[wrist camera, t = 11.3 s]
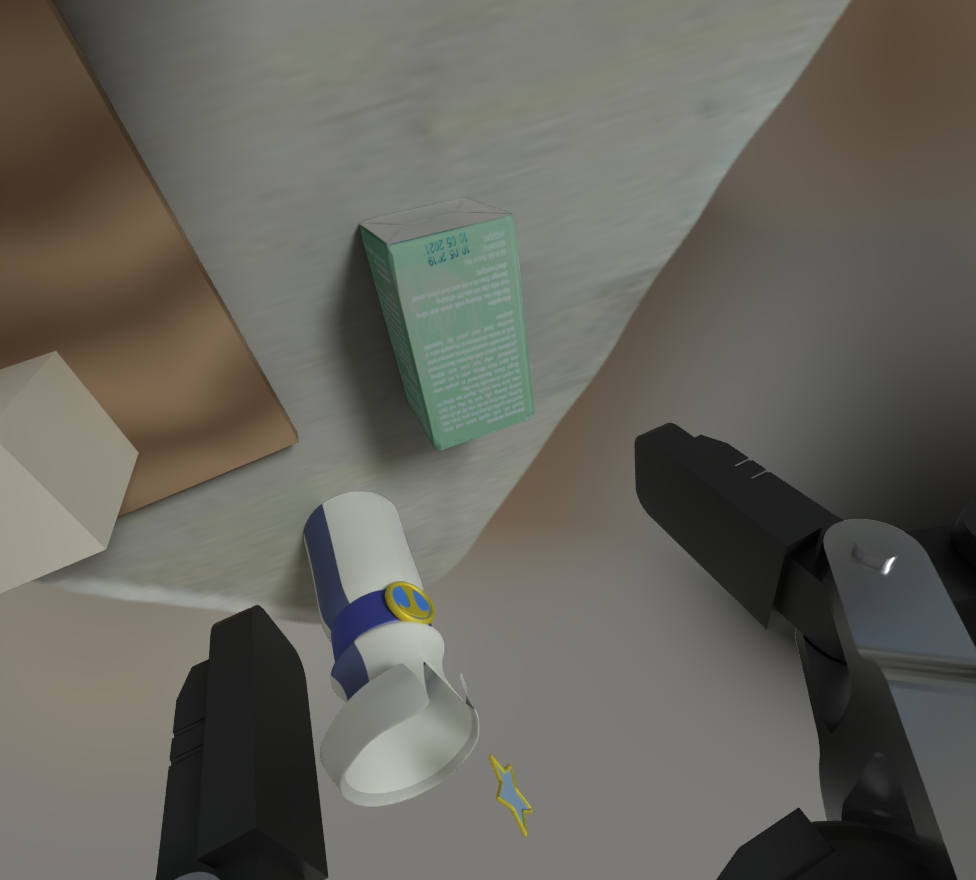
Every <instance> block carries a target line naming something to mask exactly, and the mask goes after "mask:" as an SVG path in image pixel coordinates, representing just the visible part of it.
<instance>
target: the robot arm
mask: <svg viewBox="0 0 976 880" xmlns="http://www.w3.org/2000/svg"><path fill="white" fill-rule="evenodd" d="M635 479H636V492H637V496H638V498H639V501H640V503H641V505H642V506H643V508H644V509H645V511H646V512H647V513H648V514H649V516H650V517H651V518H653V519H654V520H655V521H656V522H657V523H658V524H659V525H660V526H661V527H662V528H663V529H664V530H665V531H666V532H667V533H668V534H669V535H670V536H671V537H672V538H673V539H674V540H675V541H676V542H677V543H678V544H679V545H680V546H681V547H682V548H683V549H684V550H686V552H688V553H689V554H690V555H691V556H692V557H693V558H694V559H695V560H696V561H697V562H698V563H699V564H700V565H701V566H702V567H703V568H704V569H705V570H706V571H707V572H708V573H709V574H710V575H711V576H712V577H713V578H714V579H715V580H716V581H717V582H719V583H720V585H721V586H722V587H723V588H725V589H726V590H727V591H728V592H729V593H730V594H731V595H732V596H733V597H734V598H735V599H736V600H737V601H738V602H739V603H740V604H741V605H742V606H743V607H744V608H745V609H746V610H747V611H748V612H749V613H750V614H751V615H752V616H753V617H754V618H755V619H756V620H758V622H760V623H761V624H762V625H763V626H764V627H765V628H766V629H768V628H770V627H771V626H773V625H775V624H777V623H779V622H780V621H782V620H784V619H787V620H788V621H789V622H790V623H791V624H792V625H794V626H795V627H796V633H795V636H796V642H797V647H798V651H799V655H800V660H801V664H802V669H803V673H804V677H805V682H806V686H807V690H808V695H809V699H810V703H811V707H812V712H813V716H814V721H815V725H816V729H817V734H818V739H819V747H820V748H819V749H820V759H819V777H820V787H821V794H822V799H823V804H824V809H825V813H826V818H827V821H815V822H810V820H809V819H808V818H807V817H806V816H805V815H804V813H803V812H802V811H801V809H800V808H797V809H796V810H794V811H793V812H791V813H790V814H788V815H787V816H785V817H784V818H782V819H781V820H779V821H778V822H776V823H775V824H774V825H772V826H771V827H769V828H768V829H766V830H765V831H763V832H762V833H760V834H759V835H757V836H756V837H754V838H753V839H751V840H750V841H748V842H747V843H745V844H744V845H742V846H741V847H740V848H738V850H737V851H736V853H735V854H734V855H733V857H732V858H731V860H730V861H729V862H728V864H727V865H726V867H725V868H724V870H723V871H722V872H721V874H720V875H719V877H718V878H717V880H976V500H973V501H971V502H969V503H968V504H967V505H966V506H965V507H964V509H963V511H962V513H961V515H960V516H959V518H958V521H957V522H956V523H954V524H949V525H943V526H936V527H930V528H925V529H919V530H912V531H905V532H903V531H901V530H900V529H897V528H896V527H893V526H891V525H888V524H884V523H881V522H878V521H873V520H865V519H852V520H845V521H844V520H842V519H841V518H839V517H837V516H836V515H834V514H832V513H831V512H829V511H828V510H826V509H825V508H823V507H822V506H820V505H819V504H817V503H816V502H814V501H813V500H811V499H810V498H808V497H807V496H805V495H804V494H802V493H801V492H799V491H798V490H796V489H795V488H793V487H792V486H790V485H789V484H787V483H786V482H784V481H783V480H781V479H780V478H778V477H777V476H775V475H774V474H772V473H771V472H769V473H768V472H766V469H765V468H763V467H762V466H760V465H759V464H757V463H756V462H754V461H753V460H752V461H750V460H749V459H748V457H747V456H745V455H744V454H742V453H741V452H739V451H738V450H736V449H735V448H733V447H732V446H730V445H729V444H727V443H725V442H722V441H718V440H716V439H712V438H709V437H706V436H703V435H699V436H697V437H695V438H694V437H693V436H692V435H690V434H689V433H687V432H686V431H684V430H683V429H682V428H680V427H679V426H677V425H675V424H673V423H667V424H664V425H662V426H660V427H657V428H655V429H653V430H651V431H649V432H646V433H644V434H642V435H639V436H638V437H637V438H636V440H635ZM173 733H174V738H173V739H172V744H171V752H170V761H171V766H170V767H169V770H168V779H167V787H166V796H165V805H164V814H163V822H162V831H161V840H160V849H159V858H158V866H157V875H156V880H325V879H326V878H328V870H327V861H326V852H325V843H324V835H323V825H322V817H321V808H320V799H319V790H318V781H317V772H316V764H315V755H314V746H313V737H312V728H311V720H310V710H309V702H308V693H307V684H306V677H305V672H304V669H303V665H302V663H301V660H300V658H299V655H298V653H297V652H296V650H295V648H294V647H293V646H292V644H291V643H290V642H289V641H288V639H287V638H286V637H285V636H284V634H283V633H282V632H281V631H280V629H279V628H278V627H277V625H276V624H275V623H274V622H273V620H272V619H271V618H270V617H269V615H268V614H267V613H266V612H265V610H264V609H263V608H262V607H261V606H259V605H255V606H253V607H251V608H249V609H246V610H244V611H242V612H240V613H237V614H235V615H233V616H231V617H228V618H226V619H224V620H222V621H219V622H217V623H215V624H214V625H213V627H212V629H211V635H210V651H209V659H208V660H206V661H204V662H202V663H199V664H197V665H195V666H193V667H192V668H191V670H190V672H189V674H188V677H187V679H186V681H185V683H184V685H183V687H182V689H181V691H180V694H179V696H178V698H177V700H176V709H175V718H174V727H173Z"/></svg>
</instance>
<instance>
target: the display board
mask: <svg viewBox="0 0 976 880" xmlns="http://www.w3.org/2000/svg"><path fill="white" fill-rule="evenodd" d="M54 351H57V353H58V354H59V355H60V356H61V358H62V359H63V360H64V361H65V363H66V364H67V365H68V366H69V367H70V369H71V370H72V371H73V372H74V374H75V375H76V376H77V377H78V379H79V380H80V381H81V382H82V384H83V385H84V386H85V387H86V388H87V390H88V391H89V392H90V393H91V395H92V396H93V397H94V398H95V400H96V401H97V402H98V403H99V404H100V406H101V407H102V408H103V409H104V411H105V412H106V413H107V414H108V416H109V417H110V418H111V419H112V420H113V422H114V423H115V424H116V425H117V427H118V428H119V429H120V430H121V432H122V433H123V434H124V435H125V436H126V438H127V439H128V440H129V441H130V443H131V444H132V445H133V446H134V448H135V449H136V450H137V451H138V453H139V454H138V456H137V459H136V462H135V465H134V468H133V471H132V474H131V477H130V480H129V483H128V486H127V489H126V492H125V495H124V498H123V501H122V504H121V507H120V510H119V513H118V516H117V517H119V516H122V515H124V514H127V513H129V512H131V511H134V510H136V509H139V508H141V507H143V506H146V505H148V504H151V503H153V502H156V501H158V500H160V499H163V498H165V497H168V496H170V495H172V494H175V493H177V492H180V491H182V490H184V489H187V488H189V487H192V486H194V485H197V484H199V483H201V482H204V481H206V480H209V479H211V478H213V477H216V476H218V475H221V474H223V473H225V472H228V471H230V470H233V469H235V468H238V467H240V466H242V465H245V464H247V463H250V462H252V461H254V460H257V459H259V458H262V457H264V456H266V455H269V454H271V453H274V452H276V451H279V450H281V449H283V448H286V447H288V446H291V445H293V444H295V443H298V442H299V441H298V435H297V431H296V429H295V428H294V426H293V424H292V422H291V420H290V419H289V417H288V415H287V413H286V412H285V410H284V408H283V406H282V405H281V403H280V401H279V399H278V398H277V396H276V394H275V392H274V390H273V389H272V387H271V385H270V383H269V382H268V380H267V378H266V376H265V375H264V373H263V371H262V369H261V368H260V366H259V364H258V362H257V360H256V359H255V357H254V355H253V353H252V352H251V350H250V348H249V346H248V345H247V343H246V341H245V339H244V337H243V336H242V334H241V332H240V330H239V329H238V327H237V325H236V323H235V322H234V320H233V318H232V316H231V315H230V313H229V311H228V309H227V307H226V306H225V304H224V302H223V300H222V299H221V297H220V295H219V293H218V292H217V290H216V288H215V286H214V285H213V283H212V281H211V279H210V277H209V276H208V274H207V272H206V270H205V269H204V267H203V265H202V263H201V262H200V260H199V258H198V256H197V255H196V253H195V251H194V249H193V247H192V246H191V244H190V242H189V240H188V239H187V237H186V235H185V233H184V232H183V230H182V228H181V226H180V225H179V223H178V221H177V219H176V217H175V216H174V214H173V212H172V210H171V209H170V207H169V205H168V203H167V202H166V200H165V198H164V196H163V195H162V193H161V191H160V189H159V187H158V186H157V184H156V182H155V180H154V179H153V177H152V175H151V173H150V172H149V170H148V168H147V166H146V165H145V163H144V161H143V159H142V157H141V156H140V154H139V152H138V150H137V149H136V147H135V145H134V143H133V142H132V140H131V138H130V136H129V134H128V133H127V131H126V129H125V127H124V126H123V124H122V122H121V120H120V119H119V117H118V115H117V113H116V112H115V110H114V108H113V106H112V104H111V103H110V101H109V99H108V97H107V96H106V94H105V92H104V90H103V89H102V87H101V85H100V83H99V82H98V80H97V78H96V76H95V74H94V73H93V71H92V69H91V67H90V66H89V64H88V62H87V60H86V59H85V57H84V55H83V53H82V52H81V50H80V48H79V46H78V44H77V43H76V41H75V39H74V37H73V36H72V34H71V32H70V30H69V29H68V27H67V25H66V23H65V22H64V20H63V18H62V16H61V14H60V13H59V11H58V9H57V7H56V6H55V4H54V2H53V0H0V369H3V368H6V367H9V366H12V365H15V364H18V363H21V362H24V361H27V360H30V359H33V358H36V357H39V356H42V355H45V354H48V353H51V352H54Z"/></svg>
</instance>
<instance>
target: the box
mask: <svg viewBox="0 0 976 880" xmlns="http://www.w3.org/2000/svg"><path fill="white" fill-rule="evenodd" d="M359 225H360V230H361V235H362V240H363V244H364V247H365V251H366V255H367V258H368V262H369V265H370V269H371V272H372V276H373V280H374V283H375V287H376V290H377V294H378V297H379V301H380V305H381V308H382V312H383V315H384V319H385V322H386V326H387V330H388V333H389V337H390V340H391V344H392V348H393V351H394V355H395V358H396V361H397V365H398V368H399V372H400V375H401V379H402V382H403V386H404V389H405V393H406V397H407V400H408V403H409V405H410V407H411V409H412V410H413V412H414V414H415V415H416V417H417V419H418V420H419V422H420V424H421V425H422V427H423V429H424V430H425V432H426V434H427V436H428V437H429V439H430V441H431V443H432V444H433V446H434V447H435V448H437V449H440V450H444V449H447V448H449V447H452V446H455V445H458V444H461V443H463V442H466V441H469V440H472V439H475V438H478V437H480V436H483V435H486V434H489V433H492V432H494V431H497V430H500V429H502V428H505V427H508V426H510V425H513V424H516V423H520V422H523V421H526V420H528V419H530V418H531V417H532V416H533V414H534V411H535V408H534V402H533V394H532V386H531V377H530V368H529V359H528V350H527V339H526V329H525V319H524V309H523V299H522V288H521V277H520V267H519V257H518V247H517V238H516V231H515V225H514V219H513V214H512V213H510V212H507V211H503V210H500V209H497V208H494V207H491V206H489V205H486V204H483V203H480V202H478V201H475V200H472V199H469V198H460V199H455V200H450V201H446V202H441V203H436V204H432V205H427V206H423V207H418V208H414V209H409V210H404V211H400V212H395V213H391V214H387V215H383V216H379V217H375V218H372V219H368V220H365V221H363V222H361V223H360V224H359Z"/></svg>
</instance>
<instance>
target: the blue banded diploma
mask: <svg viewBox="0 0 976 880" xmlns="http://www.w3.org/2000/svg"><path fill="white" fill-rule="evenodd" d="M304 543H305V547H306V551H307V555H308V559H309V563H310V567H311V572H312V576H313V581H314V586H315V592H316V598H317V604H318V609H319V615H320V619H321V623H322V626H323V629H324V631H325V634H326V635H327V637H328V639H329V640H330V642H331V643H332V647H333V653H334V659H335V664H334V666H333V668H332V672H331V684H332V688H333V690H334V692H335V693H336V694H337V695H338V696H339V697H340V698H341V699H343V700H344V701H345V703H346V704H345V705H344V706H343V708H342V709H341V710H340V712H339V713H338V715H337V716H336V718H335V720H334V721H333V723H332V725H331V726H330V728H329V730H328V731H327V733H326V735H325V737H324V738H323V741H322V743H321V747H320V758H321V762H322V765H323V767H324V768H325V770H326V772H327V773H328V775H329V777H330V778H331V779H332V780H333V782H334V783H335V784H336V785H337V786H338V788H339V790H340V792H341V794H342V795H343V797H344V798H345V799H346V800H348V801H349V802H351V803H353V804H356V805H360V806H367V807H377V806H385V805H391V804H395V803H399V802H402V801H405V800H408V799H410V798H413V797H415V796H418V795H420V794H422V793H424V792H426V791H428V790H429V789H431V788H433V787H434V786H436V785H438V784H439V783H440V782H442V781H443V780H444V779H446V778H447V777H448V776H450V774H452V773H453V772H454V771H455V770H456V769H457V768H458V767H459V766H460V765H461V764H462V763H463V761H465V759H466V758H467V757H468V756H469V754H470V753H471V752H472V750H473V749H474V747H475V745H476V743H477V740H478V737H479V718H478V714H477V711H476V710H475V708H474V706H473V704H472V703H471V700H470V698H469V696H468V694H467V688H466V684H465V682H464V679H463V676H462V673H460V676H461V682H462V685H463V688H464V690H465V692H466V694H467V695H466V703H465V702H464V701H463V700H462V699H461V698H460V696H459V695H458V694H457V693H456V692H455V691H454V689H453V688H452V687H451V686H450V684H449V683H448V681H447V680H446V678H445V676H444V673H443V668H442V659H443V655H444V642H443V639H442V637H441V635H440V633H439V632H438V631H437V630H435V629H434V628H433V627H432V626H431V622H432V621H433V619H434V616H435V608H434V605H433V603H432V601H431V599H430V598H429V597H428V595H426V593H425V592H424V591H423V587H422V583H421V580H420V578H419V575H418V572H417V569H416V567H415V564H414V561H413V559H412V556H411V553H410V550H409V548H408V545H407V542H406V539H405V535H404V532H403V529H402V526H401V522H400V519H399V516H398V513H397V510H396V508H395V507H394V505H393V504H392V503H391V502H390V501H389V500H388V499H386V498H385V497H383V496H381V495H379V494H376V493H372V492H365V491H355V492H348V493H344V494H341V495H338V496H335V497H333V498H331V499H329V500H327V501H326V502H324V503H323V504H321V505H320V506H319V507H318V508H317V509H316V510H315V511H314V512H313V513H312V514H311V516H310V517H309V519H308V521H307V523H306V525H305V529H304ZM489 759H490V761H491V764H492V766H493V768H494V771H495V773H496V776H497V778H498V781H499V788H498V792H497V797H496V799H497V800H498V801H499V802H501V803H503V804H504V805H505V806H507V807H509V808H510V809H511V811H512V813H513V815H514V817H515V819H516V821H517V823H518V825H519V827H520V829H521V831H522V833H523V835H524V836H526V835H527V828H526V821H525V813H531V812H532V808H531V806H530V805H529V804H528V802H527V801H526V800H525V798H524V797H523V796H522V794H521V793H520V791H519V790H518V788H517V784H516V780H515V776H514V773H513V769H512V766H511V765H510V764H509V765H507V766H506V767H505V768H503V767H502V766H501V765H500V764H499V763H498V761H497V760H496V759H495V758H494V757H493V756H492V755H491V754H490V755H489Z"/></svg>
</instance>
